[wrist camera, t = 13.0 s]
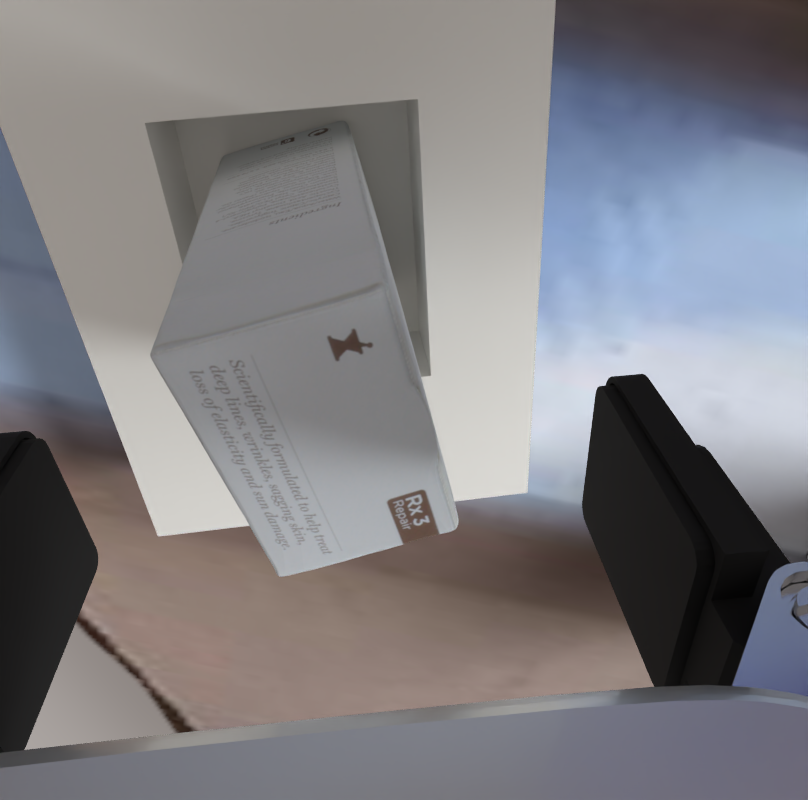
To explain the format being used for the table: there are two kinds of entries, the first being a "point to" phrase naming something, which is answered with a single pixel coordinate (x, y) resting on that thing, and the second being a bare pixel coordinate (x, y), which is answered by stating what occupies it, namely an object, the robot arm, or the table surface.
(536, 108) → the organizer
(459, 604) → the table surface
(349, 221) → the skincare box
